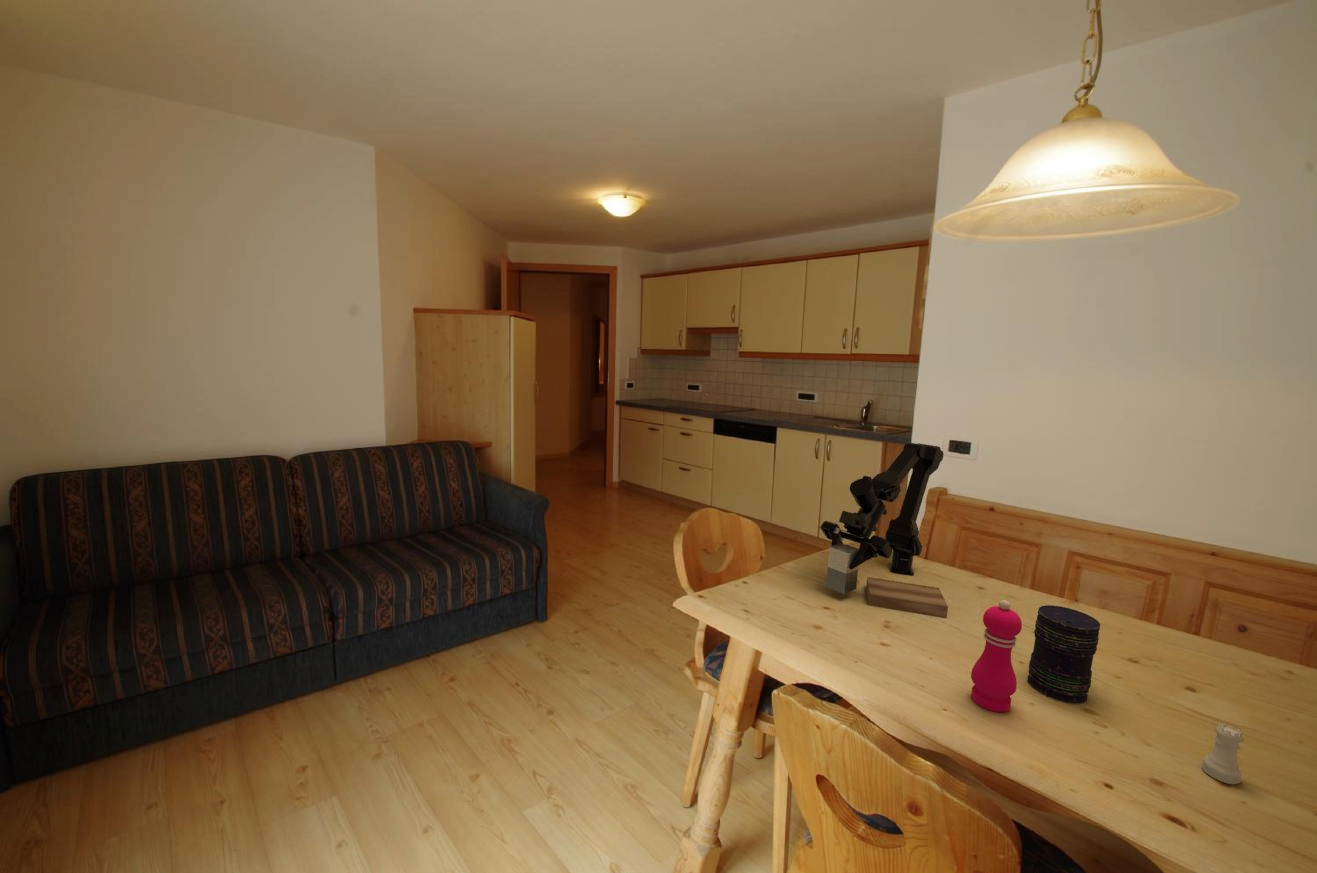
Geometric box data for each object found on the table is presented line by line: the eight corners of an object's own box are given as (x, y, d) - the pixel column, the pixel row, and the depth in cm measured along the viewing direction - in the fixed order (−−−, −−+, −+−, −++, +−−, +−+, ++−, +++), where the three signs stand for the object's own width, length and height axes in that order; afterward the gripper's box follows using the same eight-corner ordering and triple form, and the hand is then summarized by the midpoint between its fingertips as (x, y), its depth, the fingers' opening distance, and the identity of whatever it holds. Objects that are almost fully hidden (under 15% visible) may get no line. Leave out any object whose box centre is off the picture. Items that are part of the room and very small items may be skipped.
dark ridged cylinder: (1027, 668, 115) (1038, 600, 112) (1086, 686, 109) (1099, 615, 107) (1025, 690, 107) (1037, 618, 104) (1089, 711, 101) (1103, 635, 99)
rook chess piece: (1209, 780, 85) (1220, 733, 84) (1194, 761, 89) (1203, 716, 88) (1247, 789, 83) (1258, 742, 82) (1229, 769, 88) (1240, 724, 86)
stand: (866, 587, 152) (867, 577, 152) (937, 598, 147) (938, 587, 147) (868, 605, 141) (870, 594, 140) (946, 618, 136) (948, 606, 135)
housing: (837, 581, 149) (841, 542, 148) (856, 589, 145) (860, 549, 143) (825, 586, 146) (829, 546, 144) (844, 594, 142) (848, 553, 140)
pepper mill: (960, 689, 106) (974, 590, 103) (998, 691, 106) (1013, 593, 103) (981, 713, 99) (996, 608, 96) (1022, 715, 99) (1038, 610, 96)
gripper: (827, 492, 152) (799, 537, 146) (891, 508, 137) (863, 559, 132) (840, 515, 158) (814, 559, 152) (903, 533, 143) (877, 583, 138)
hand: (840, 564), depth 144 cm, fingers closed on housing, 5 cm apart
